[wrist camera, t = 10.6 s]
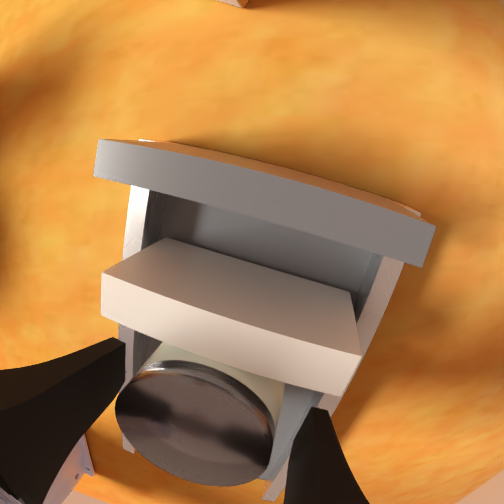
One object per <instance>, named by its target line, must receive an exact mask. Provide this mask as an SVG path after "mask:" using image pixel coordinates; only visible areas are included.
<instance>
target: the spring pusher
mask: <svg viewBox="0 0 504 504" xmlns="http://www.w3.org/2000/svg"><path fill="white" fill-rule="evenodd" d="M101 315H102V316H104V317H106V318H108V319H111V320H113V321H115V322H117V323H119V324H122V325H124V326H126V327H129V328H131V329H133V330H136V331H138V332H140V333H143V334H145V335H148V336H150V337H152V338H155V339H157V340H160V341H162V342H165V343H168V344H170V345H173V346H175V347H178V348H181V349H183V350H186V351H189V352H191V353H194V354H197V355H200V356H202V357H205V358H208V359H211V360H214V361H217V362H220V363H223V364H226V365H229V366H232V367H235V368H238V369H241V370H244V371H247V372H250V373H254V374H257V375H260V376H264V377H267V378H270V379H274V380H277V381H281V382H284V383H288V384H292V385H295V386H299V387H303V388H307V389H311V390H315V391H319V392H323V393H327V394H331V395H336V396H340V397H341V395H342V394H343V392H344V390H345V388H346V386H347V384H348V383H349V381H350V379H351V377H352V375H353V373H354V371H355V369H356V367H357V365H358V363H359V361H360V359H361V357H362V354H361V348H360V342H359V337H358V331H357V326H356V320H355V315H354V310H353V305H352V300H351V295H350V292H349V291H345V290H342V289H338V288H335V287H331V286H328V285H324V284H321V283H318V282H314V281H311V280H307V279H304V278H301V277H297V276H294V275H290V274H287V273H284V272H280V271H277V270H273V269H270V268H267V267H263V266H260V265H257V264H253V263H250V262H247V261H243V260H240V259H236V258H233V257H230V256H226V255H223V254H220V253H217V252H213V251H210V250H207V249H203V248H200V247H197V246H193V245H190V244H187V243H183V242H180V241H177V240H174V239H170V238H167V237H165V238H163V239H162V240H160V241H158V242H156V243H154V244H152V245H150V246H148V247H147V248H145V249H143V250H141V251H139V252H137V253H136V254H134V255H132V256H130V257H128V258H127V259H125V260H123V261H121V262H119V263H118V264H116V265H114V266H112V267H110V268H109V269H107V270H105V271H103V272H102V283H101Z"/></svg>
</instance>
